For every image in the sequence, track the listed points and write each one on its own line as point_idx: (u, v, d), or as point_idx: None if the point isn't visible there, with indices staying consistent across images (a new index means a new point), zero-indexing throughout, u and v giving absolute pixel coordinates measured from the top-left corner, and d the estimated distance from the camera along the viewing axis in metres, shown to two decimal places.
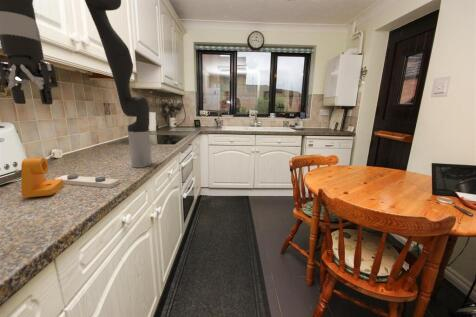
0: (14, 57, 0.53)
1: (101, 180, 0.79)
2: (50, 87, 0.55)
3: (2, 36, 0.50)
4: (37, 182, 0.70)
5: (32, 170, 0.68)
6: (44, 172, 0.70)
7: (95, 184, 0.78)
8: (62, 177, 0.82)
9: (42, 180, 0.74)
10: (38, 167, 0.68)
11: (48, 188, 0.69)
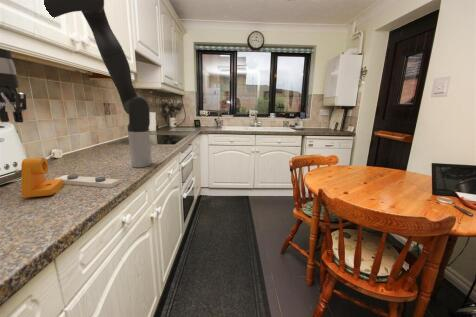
0: None
1: (101, 180, 0.79)
2: (20, 110, 0.76)
3: None
4: (37, 182, 0.70)
5: (32, 170, 0.68)
6: (44, 172, 0.70)
7: (95, 184, 0.78)
8: (62, 177, 0.82)
9: (42, 180, 0.74)
10: (38, 167, 0.68)
11: (48, 188, 0.69)
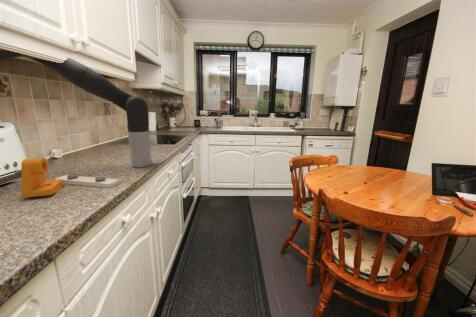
0: None
1: (101, 180, 0.79)
2: None
3: None
4: (37, 182, 0.70)
5: (32, 170, 0.68)
6: (44, 172, 0.70)
7: (95, 184, 0.78)
8: (62, 177, 0.82)
9: (42, 180, 0.74)
10: (38, 167, 0.68)
11: (48, 188, 0.69)
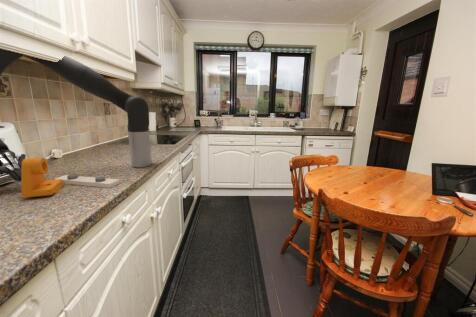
0: None
1: (101, 180, 0.79)
2: (4, 172, 0.70)
3: None
4: (37, 182, 0.70)
5: (32, 170, 0.68)
6: (44, 172, 0.70)
7: (95, 184, 0.78)
8: (62, 177, 0.82)
9: (42, 180, 0.74)
10: (38, 167, 0.68)
11: (48, 188, 0.69)
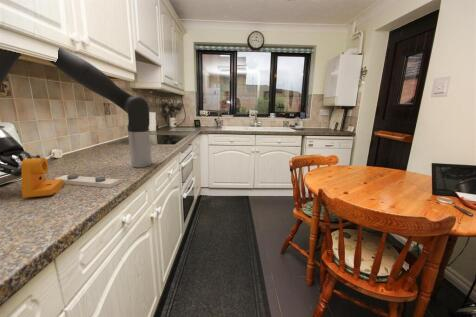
0: None
1: (101, 180, 0.79)
2: (20, 174, 0.69)
3: None
4: (37, 182, 0.70)
5: (32, 170, 0.68)
6: (44, 172, 0.70)
7: (95, 184, 0.78)
8: (62, 177, 0.82)
9: (42, 180, 0.74)
10: (38, 167, 0.68)
11: (48, 188, 0.69)
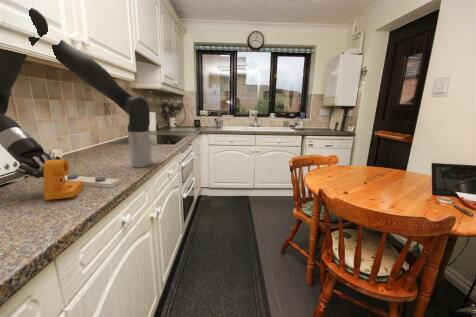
0: None
1: (101, 180, 0.79)
2: (42, 176, 0.68)
3: None
4: (58, 184, 0.69)
5: (54, 172, 0.66)
6: (66, 174, 0.69)
7: (95, 184, 0.78)
8: None
9: (63, 182, 0.72)
10: (60, 169, 0.67)
11: (70, 190, 0.67)
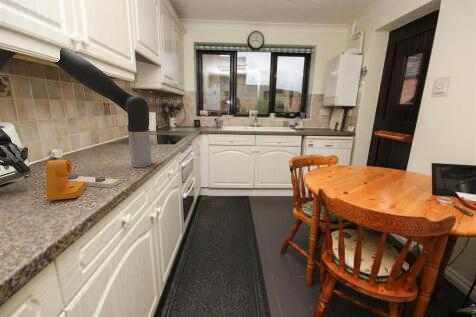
0: None
1: (101, 180, 0.79)
2: (8, 164, 0.70)
3: None
4: (61, 184, 0.69)
5: (57, 172, 0.66)
6: (68, 174, 0.69)
7: (95, 184, 0.78)
8: None
9: (65, 182, 0.72)
10: (63, 169, 0.66)
11: (72, 191, 0.67)
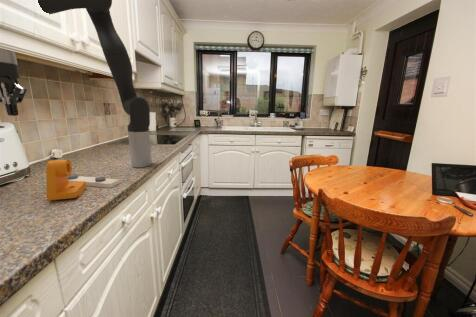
0: None
1: (101, 180, 0.79)
2: (15, 102, 0.73)
3: None
4: (61, 184, 0.69)
5: (57, 172, 0.66)
6: (68, 174, 0.69)
7: (95, 184, 0.78)
8: None
9: (65, 182, 0.72)
10: (63, 169, 0.66)
11: (72, 191, 0.67)
